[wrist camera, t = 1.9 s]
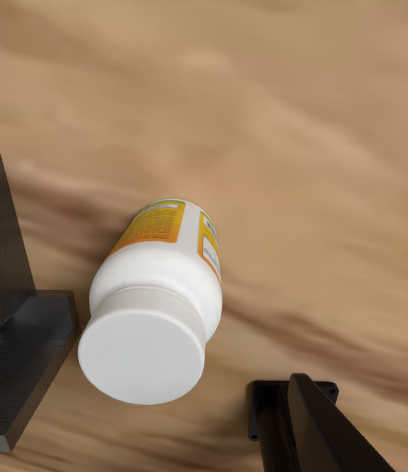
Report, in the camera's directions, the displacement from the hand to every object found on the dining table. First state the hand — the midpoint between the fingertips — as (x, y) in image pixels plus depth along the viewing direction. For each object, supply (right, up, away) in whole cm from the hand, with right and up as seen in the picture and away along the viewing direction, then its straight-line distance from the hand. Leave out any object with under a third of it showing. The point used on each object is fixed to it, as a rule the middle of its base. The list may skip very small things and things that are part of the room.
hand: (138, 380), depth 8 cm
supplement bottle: (0, +4, +10) cm, 11 cm away
